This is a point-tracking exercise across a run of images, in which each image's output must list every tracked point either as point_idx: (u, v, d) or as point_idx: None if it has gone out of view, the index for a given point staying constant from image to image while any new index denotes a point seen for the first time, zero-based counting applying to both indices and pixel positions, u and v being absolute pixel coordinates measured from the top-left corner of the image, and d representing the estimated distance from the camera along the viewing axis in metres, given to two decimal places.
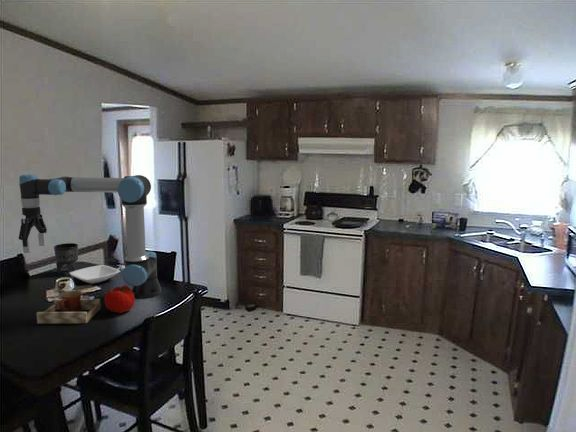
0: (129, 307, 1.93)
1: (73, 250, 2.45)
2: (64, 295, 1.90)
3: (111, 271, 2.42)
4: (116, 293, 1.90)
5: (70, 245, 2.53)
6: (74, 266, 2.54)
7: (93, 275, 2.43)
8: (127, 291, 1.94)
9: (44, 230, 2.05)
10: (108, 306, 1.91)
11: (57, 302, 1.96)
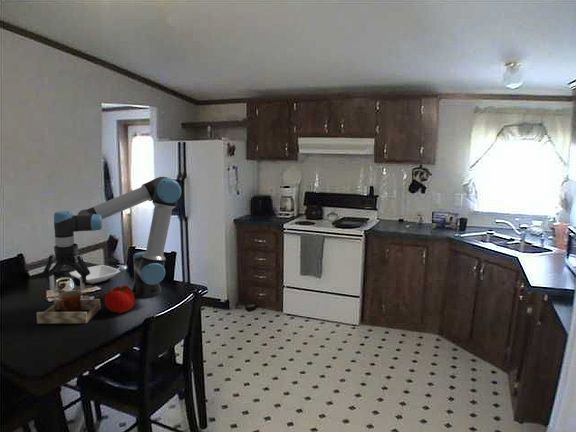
0: (129, 307, 1.93)
1: None
2: (64, 295, 1.90)
3: (111, 271, 2.42)
4: (116, 293, 1.90)
5: None
6: None
7: (93, 275, 2.43)
8: (127, 291, 1.94)
9: (82, 274, 1.85)
10: (108, 306, 1.91)
11: (57, 302, 1.96)
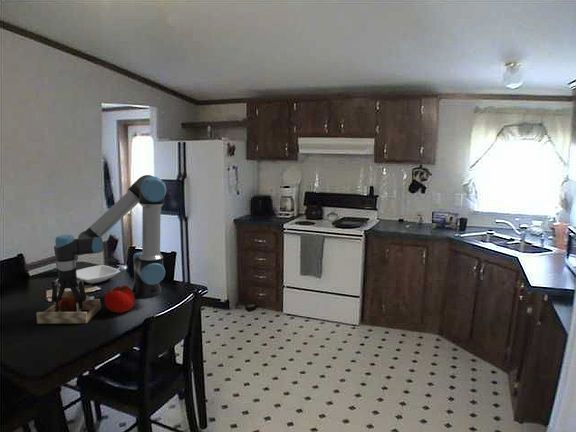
0: (129, 307, 1.93)
1: None
2: (63, 295, 1.90)
3: (111, 271, 2.42)
4: (116, 293, 1.90)
5: None
6: None
7: (93, 275, 2.43)
8: (127, 291, 1.94)
9: (79, 300, 1.88)
10: (108, 306, 1.91)
11: None
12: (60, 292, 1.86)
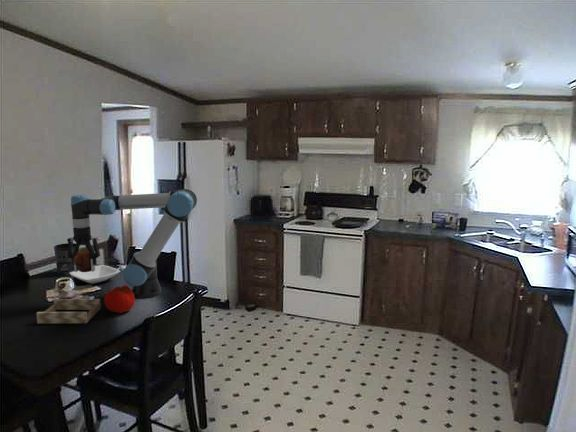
0: (129, 307, 1.93)
1: (73, 250, 2.45)
2: (78, 252, 2.03)
3: (111, 271, 2.42)
4: (116, 293, 1.90)
5: None
6: None
7: (93, 275, 2.43)
8: (127, 291, 1.94)
9: (93, 256, 2.00)
10: (108, 306, 1.91)
11: (57, 302, 1.96)
12: (75, 249, 1.99)
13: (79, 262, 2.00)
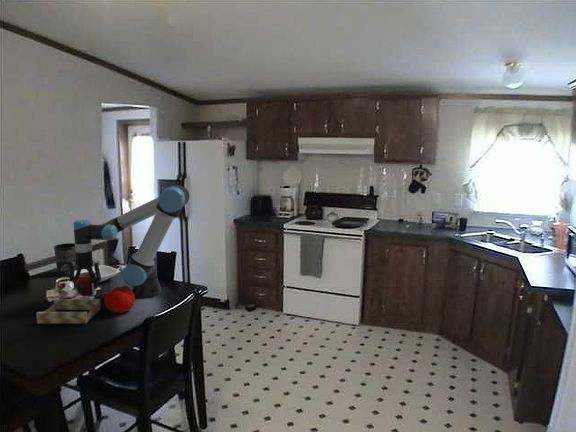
0: (129, 307, 1.93)
1: (73, 250, 2.45)
2: (80, 276, 2.05)
3: (111, 271, 2.42)
4: (116, 293, 1.90)
5: (70, 245, 2.53)
6: None
7: None
8: (127, 291, 1.94)
9: (95, 280, 2.03)
10: (108, 306, 1.91)
11: (57, 302, 1.96)
12: (77, 273, 2.01)
13: (80, 286, 2.02)
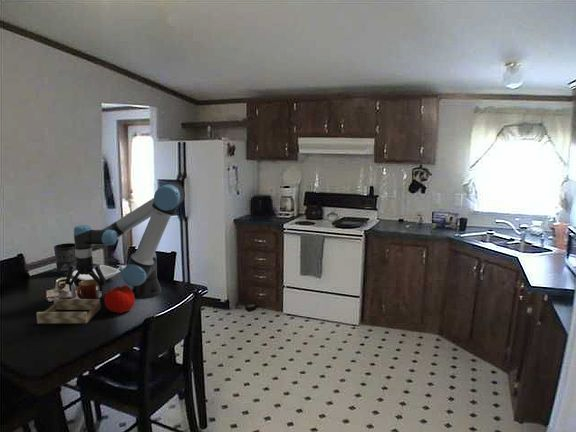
0: (129, 307, 1.93)
1: (73, 250, 2.45)
2: (81, 283, 2.06)
3: (111, 271, 2.42)
4: (116, 293, 1.90)
5: (70, 245, 2.53)
6: None
7: None
8: (127, 291, 1.94)
9: (100, 283, 2.03)
10: (108, 306, 1.91)
11: (57, 302, 1.96)
12: (75, 276, 2.02)
13: (82, 294, 2.03)
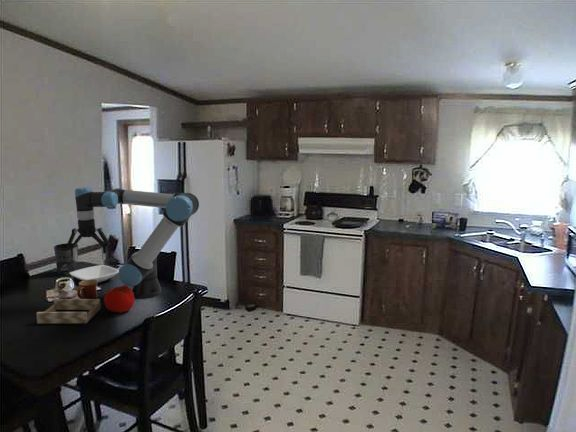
0: (129, 306, 1.93)
1: None
2: (81, 283, 2.06)
3: (111, 271, 2.42)
4: (115, 293, 1.90)
5: None
6: (74, 266, 2.54)
7: (93, 275, 2.43)
8: (126, 291, 1.95)
9: (103, 245, 2.03)
10: (108, 306, 1.91)
11: (57, 302, 1.96)
12: (77, 239, 2.01)
13: (82, 294, 2.03)
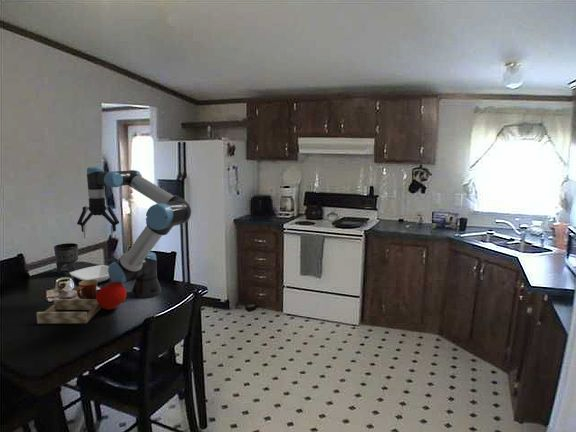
0: (122, 294, 1.94)
1: (73, 250, 2.45)
2: (81, 283, 2.06)
3: None
4: (102, 288, 1.91)
5: (70, 245, 2.53)
6: (74, 266, 2.54)
7: (93, 275, 2.43)
8: (112, 283, 1.96)
9: (113, 223, 2.09)
10: (103, 304, 1.91)
11: (57, 302, 1.96)
12: (88, 217, 2.07)
13: (82, 294, 2.03)
